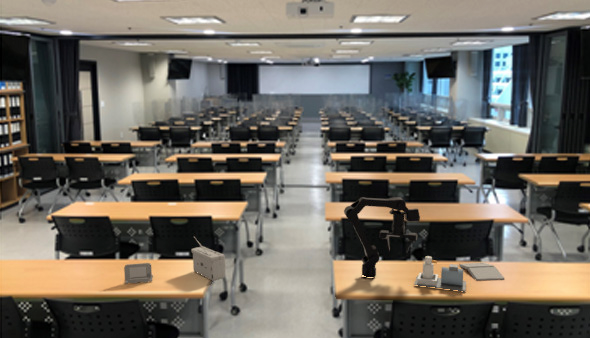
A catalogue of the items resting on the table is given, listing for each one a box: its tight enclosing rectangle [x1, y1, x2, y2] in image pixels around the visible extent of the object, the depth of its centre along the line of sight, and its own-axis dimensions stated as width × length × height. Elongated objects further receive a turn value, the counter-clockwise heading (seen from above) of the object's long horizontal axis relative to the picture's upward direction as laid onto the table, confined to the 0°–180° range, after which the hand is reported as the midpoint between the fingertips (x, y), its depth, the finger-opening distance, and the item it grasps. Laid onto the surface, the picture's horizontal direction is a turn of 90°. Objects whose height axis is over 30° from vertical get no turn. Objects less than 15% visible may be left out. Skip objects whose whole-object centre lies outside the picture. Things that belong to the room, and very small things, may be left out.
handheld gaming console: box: [123, 262, 154, 285], centre depth 261 cm, size 13×9×10 cm
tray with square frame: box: [413, 263, 467, 293], centre depth 251 cm, size 24×13×10 cm, turn 70°
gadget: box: [458, 262, 505, 281], centre depth 268 cm, size 23×15×4 cm, turn 4°
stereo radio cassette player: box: [191, 236, 226, 282], centre depth 266 cm, size 21×8×20 cm, turn 42°
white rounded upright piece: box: [422, 255, 438, 280], centre depth 252 cm, size 7×5×12 cm
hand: (397, 251), depth 262 cm, fingers open, 9 cm apart
